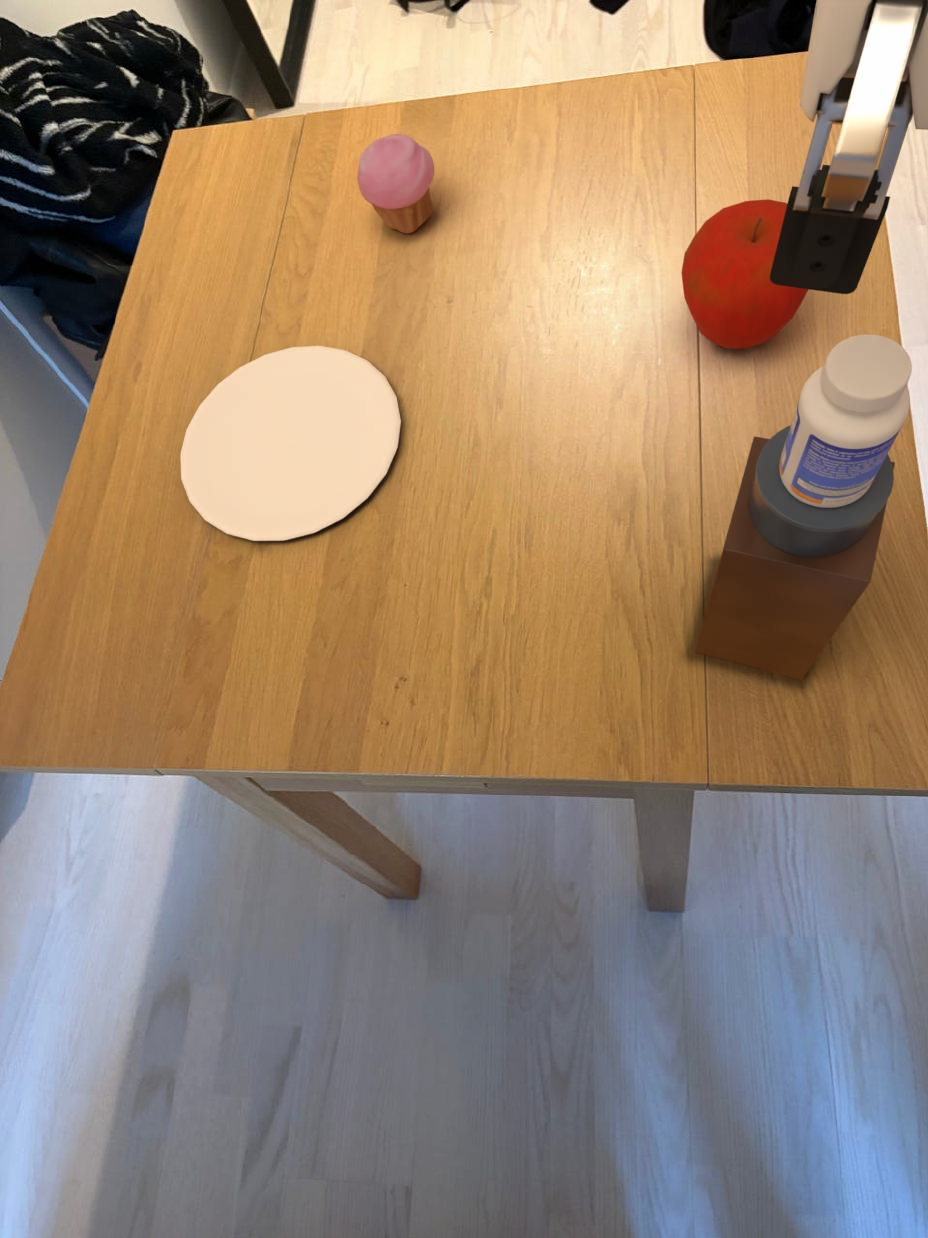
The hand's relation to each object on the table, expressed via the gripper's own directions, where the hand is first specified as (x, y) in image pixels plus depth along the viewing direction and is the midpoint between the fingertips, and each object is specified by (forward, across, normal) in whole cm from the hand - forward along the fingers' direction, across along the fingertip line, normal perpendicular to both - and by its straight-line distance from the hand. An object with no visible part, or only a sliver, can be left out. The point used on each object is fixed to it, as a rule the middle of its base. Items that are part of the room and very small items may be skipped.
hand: (836, 192), depth 32 cm
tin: (+23, -1, -4) cm, 23 cm away
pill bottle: (+19, -1, -4) cm, 19 cm away
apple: (+43, +30, +5) cm, 53 cm away
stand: (+43, -1, -4) cm, 43 cm away
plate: (+43, +6, +47) cm, 64 cm away
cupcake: (+43, +39, +46) cm, 74 cm away
